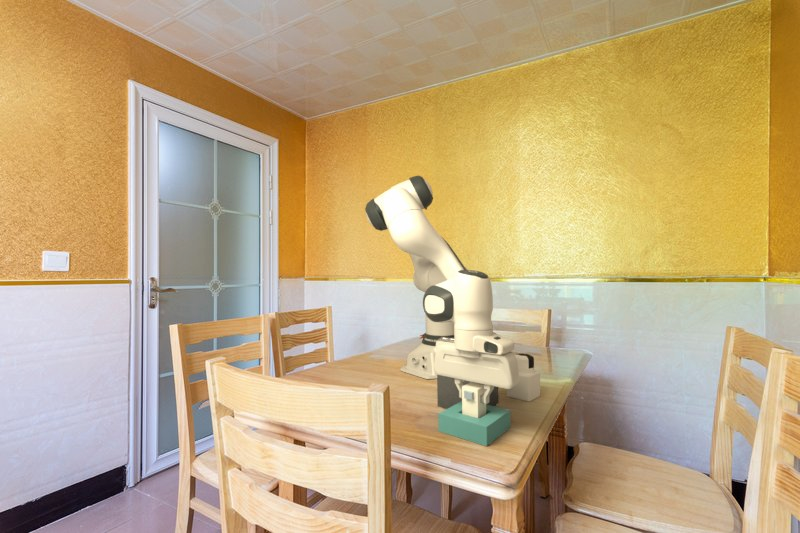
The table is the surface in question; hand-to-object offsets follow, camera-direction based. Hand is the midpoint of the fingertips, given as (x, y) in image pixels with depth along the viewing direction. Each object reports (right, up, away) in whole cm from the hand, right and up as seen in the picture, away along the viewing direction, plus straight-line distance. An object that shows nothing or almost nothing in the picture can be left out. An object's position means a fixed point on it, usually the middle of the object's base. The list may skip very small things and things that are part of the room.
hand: (474, 400), depth 87 cm
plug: (0, -6, 0) cm, 6 cm away
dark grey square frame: (+1, -7, +16) cm, 17 cm away
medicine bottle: (+19, -7, +22) cm, 30 cm away
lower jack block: (0, -7, 0) cm, 7 cm away
